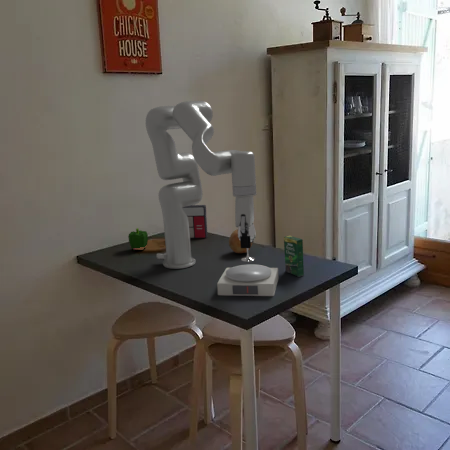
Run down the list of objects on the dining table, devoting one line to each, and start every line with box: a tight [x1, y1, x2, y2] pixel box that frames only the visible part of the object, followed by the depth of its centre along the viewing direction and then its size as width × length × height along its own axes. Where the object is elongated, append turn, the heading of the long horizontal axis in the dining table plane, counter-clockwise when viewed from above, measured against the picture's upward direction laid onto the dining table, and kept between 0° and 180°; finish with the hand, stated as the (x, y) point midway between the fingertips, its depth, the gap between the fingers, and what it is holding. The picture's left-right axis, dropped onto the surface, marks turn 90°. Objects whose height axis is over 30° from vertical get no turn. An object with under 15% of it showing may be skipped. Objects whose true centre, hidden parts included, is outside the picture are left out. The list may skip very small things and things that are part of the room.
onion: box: [228, 229, 253, 254], centre depth 209 cm, size 10×10×10 cm
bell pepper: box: [127, 227, 149, 250], centre depth 223 cm, size 8×8×10 cm
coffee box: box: [283, 235, 305, 278], centre depth 180 cm, size 8×3×13 cm, turn 28°
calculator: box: [182, 204, 208, 239], centre depth 237 cm, size 11×4×15 cm, turn 81°
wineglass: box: [237, 223, 257, 262], centre depth 168 cm, size 6×6×12 cm
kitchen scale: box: [216, 264, 279, 297], centre depth 170 cm, size 18×17×5 cm
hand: (247, 244), depth 168 cm, fingers closed on wineglass, 5 cm apart
